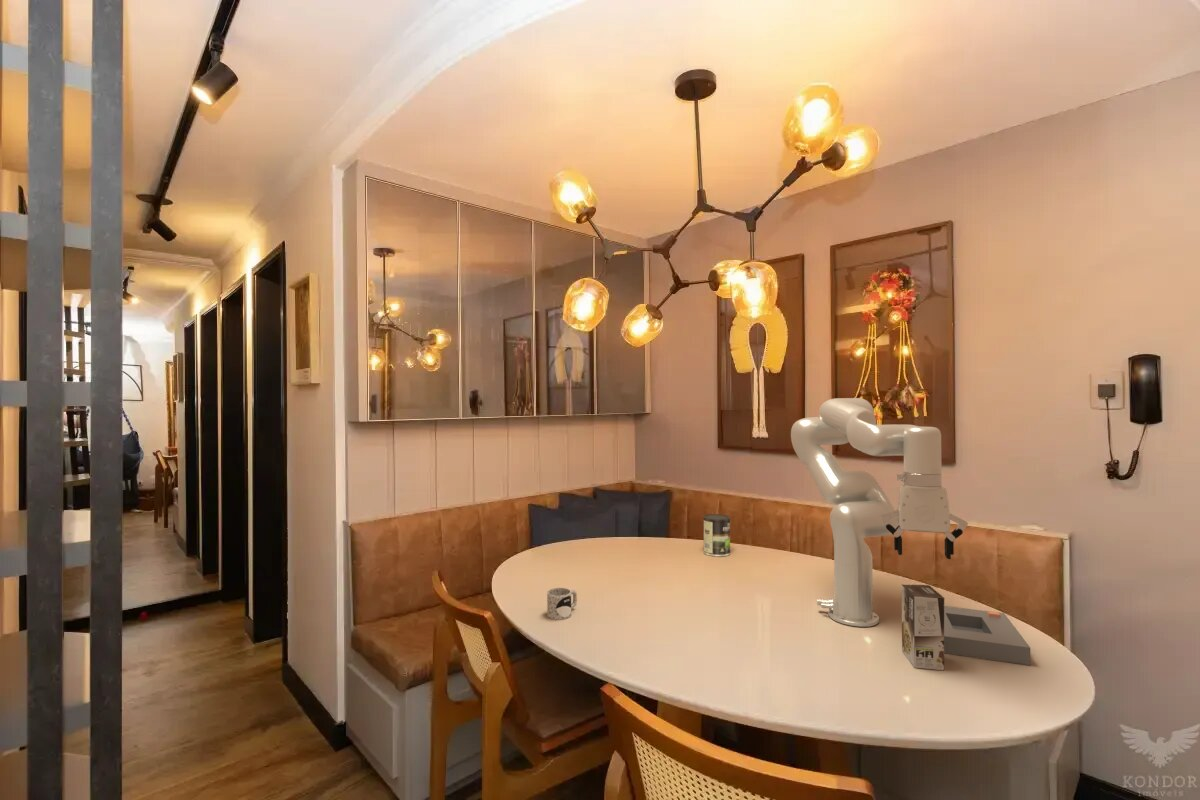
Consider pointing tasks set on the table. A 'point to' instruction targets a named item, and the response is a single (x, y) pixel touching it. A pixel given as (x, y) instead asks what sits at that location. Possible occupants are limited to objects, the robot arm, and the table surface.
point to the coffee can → (716, 535)
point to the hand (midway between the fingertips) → (923, 555)
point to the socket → (983, 636)
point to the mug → (560, 603)
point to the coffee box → (923, 626)
